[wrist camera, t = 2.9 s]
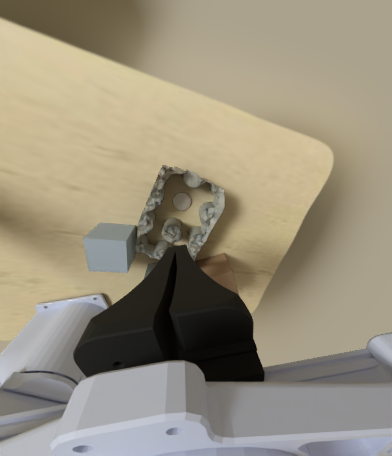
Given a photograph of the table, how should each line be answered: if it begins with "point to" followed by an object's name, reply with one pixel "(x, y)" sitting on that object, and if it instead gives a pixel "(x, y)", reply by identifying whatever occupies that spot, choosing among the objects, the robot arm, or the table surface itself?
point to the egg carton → (173, 226)
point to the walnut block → (219, 271)
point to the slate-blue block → (110, 247)
